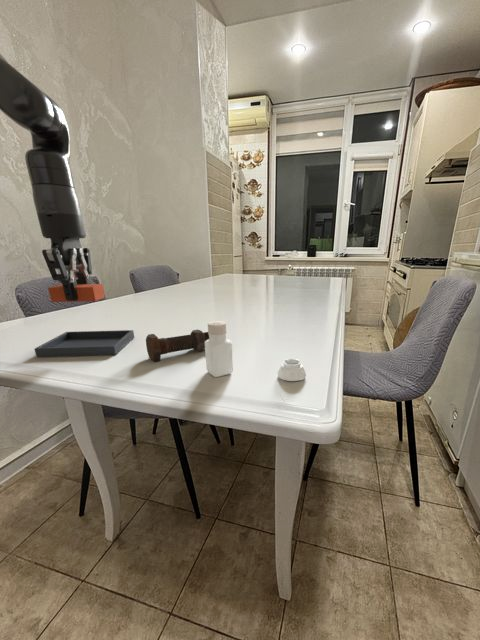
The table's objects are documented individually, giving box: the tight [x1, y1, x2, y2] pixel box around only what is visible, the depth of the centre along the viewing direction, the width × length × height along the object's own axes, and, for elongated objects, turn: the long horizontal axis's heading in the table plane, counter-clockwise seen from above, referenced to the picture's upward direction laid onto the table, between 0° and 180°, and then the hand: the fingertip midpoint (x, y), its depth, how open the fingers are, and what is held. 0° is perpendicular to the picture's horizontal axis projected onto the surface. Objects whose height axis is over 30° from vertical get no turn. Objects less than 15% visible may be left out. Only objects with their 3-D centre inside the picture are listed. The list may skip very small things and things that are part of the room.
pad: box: [47, 283, 106, 303], centre depth 63 cm, size 9×5×3 cm, turn 95°
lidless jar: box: [277, 358, 307, 382], centre depth 52 cm, size 5×3×5 cm
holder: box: [33, 329, 135, 358], centre depth 67 cm, size 16×12×2 cm
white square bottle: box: [204, 320, 234, 378], centre depth 52 cm, size 4×4×10 cm
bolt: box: [145, 329, 209, 363], centre depth 63 cm, size 6×5×15 cm
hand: (79, 297), depth 64 cm, fingers closed on pad, 5 cm apart
